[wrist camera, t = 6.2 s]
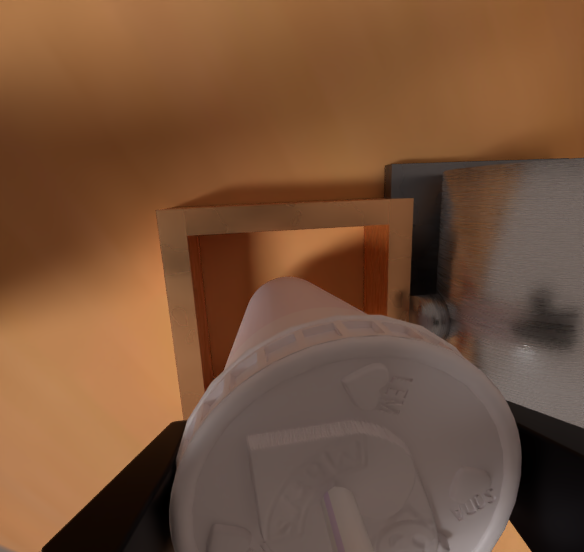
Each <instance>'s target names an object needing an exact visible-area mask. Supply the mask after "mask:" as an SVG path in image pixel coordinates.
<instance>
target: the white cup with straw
mask: <svg viewBox="0 0 584 552" xmlns="http://www.w3.org/2000/svg"><path fill="white" fill-rule="evenodd" d="M521 463H522V455H521V443H520V438H519V432H518V428H517V425H516V422H515V419H514V416H513V414H512V412H511V409H510V407H509V405H508V403H507V402H506V400H505V398H504V397H503V395H502V393H501V392H500V391H499V389H498V388H497V387H496V386H495V384H494V383H493V382H492V381H491V380H490V379H489V378H488V377H487V376H486V375H485V374H484V373H483V372H482V371H481V370H480V369H478V368H477V367H476V366H475V365H473V364H472V363H471V362H469V361H468V360H467V359H465V358H464V357H463V356H462V354H461V353H460V352H459V351H458V350H457V348H456V347H455V346H453V345H451V344H450V343H448V342H447V341H445V340H443V339H442V338H440V337H439V336H437V335H435V334H434V333H432V332H431V331H429V330H427V329H426V328H424V327H423V326H420V325H416V324H413V323H409V322H406V321H402V320H398V319H395V318H391V317H387V316H384V315H368V314H366V313H364V312H363V311H361V310H359V309H357V308H355V307H354V306H352V305H350V304H348V303H346V302H344V301H343V300H341V299H339V298H337V297H335V296H334V295H332V294H330V293H328V292H326V291H325V290H323V289H321V288H319V287H317V286H316V285H314V284H312V283H310V282H308V281H306V280H304V279H301V278H297V277H280V278H276V279H273V280H271V281H269V282H267V283H265V284H264V285H262V286H261V287H260V288H259V289H258V290H257V291H256V292H255V293H254V295H253V296H252V298H251V299H250V301H249V304H248V306H247V309H246V312H245V314H244V317H243V320H242V323H241V325H240V328H239V331H238V333H237V336H236V339H235V341H234V344H233V347H232V349H231V352H230V355H229V357H228V360H227V363H226V366H225V368H224V371H223V372H222V373H221V374H220V375H219V376H217V377H216V378H215V379H214V380H213V381H212V382H211V384H210V385H209V387H208V388H207V390H206V391H205V393H204V395H203V396H202V398H201V399H200V401H199V402H198V404H197V406H196V407H195V409H194V410H193V412H192V413H191V415H190V417H189V418H188V420H187V423H186V426H185V430H184V433H183V437H182V440H181V444H180V447H179V451H178V454H177V457H176V474H175V478H174V482H173V486H172V491H171V497H170V507H169V526H170V533H171V540H172V544H173V547H174V551H175V552H491V551H492V549H493V547H494V546H495V544H496V543H497V541H498V539H499V538H500V536H501V534H502V533H503V531H504V530H505V527H506V525H507V523H508V520H509V518H510V515H511V513H512V510H513V508H514V505H515V503H516V498H517V493H518V488H519V483H520V478H521Z"/></svg>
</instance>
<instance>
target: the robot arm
mask: <svg viewBox="0 0 584 552" xmlns="http://www.w3.org/2000/svg"><path fill="white" fill-rule="evenodd" d="M506 402H507V403H508V405H509V407H510V409H511V412H512V414H513V416H514V419H515V422H516V425H517V428H518V432H519V438H520V443H521V455H522V463H521V478H520V483H519V488H518V493H517V498H516V503H515V505H514V508H513V510H512V513H511V515H510V518H509V520H510V522H511V523H512V525H513V526H514V527H515V529H516V530H517V532H518V533H519V534H520V536H521V537H522V539H523V540H524V541H525V543H526V544H527V546H528V547H529V549H530V550H531V551H532V552H584V428H582V427H579V426H576V425H573V424H571V423H568V422H565V421H562V420H560V419H557V418H554V417H551V416H549V415H546V414H543V413H540V412H538V411H535V410H532V409H529V408H527V407H524V406H521V405H518V404H516V403H513V402H510V401H507V400H506ZM186 423H187V420H183V421H175V422H172V423H170V424H169V425H168V426H167V427H166V428H165V429H164V430H163V431H162V432H161V433H160V434H159V435H158V436H157V437H156V438H155V439H154V440H153V441H152V442H151V443H150V444H149V445H148V446H147V447H146V448H145V449H144V450H143V451H142V452H140V453H139V454H138V455H137V456H136V457H135V458H134V459H133V460H132V461H131V462H130V463H129V464H128V465H127V466H126V467H125V468H124V469H123V470H122V471H121V472H120V473H119V474H118V475H117V476H116V477H115V478H114V479H113V480H112V481H111V482H110V483H109V484H107V485H106V486H105V487H104V488H103V489H102V490H101V491H100V492H99V493H98V494H97V495H96V496H95V497H94V498H93V499H92V500H91V501H90V502H89V503H88V504H87V505H86V506H85V507H84V508H83V509H82V510H81V511H80V512H79V513H78V514H77V515H76V516H74V517H73V518H72V519H71V520H70V521H69V522H68V523H67V524H66V525H65V526H64V527H63V528H62V529H61V530H60V531H59V532H58V533H57V534H56V535H55V536H54V537H53V538H52V539H51V540H50V541H49V542H48V543H47V544H46V545H45V546H44V547H43V548H42V550H41V551H42V552H175V551H174V547H173V544H172V540H171V533H170V526H169V507H170V497H171V491H172V486H173V482H174V478H175V474H176V457H177V454H178V451H179V447H180V444H181V440H182V437H183V433H184V430H185V426H186Z"/></svg>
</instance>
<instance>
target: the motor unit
mask: <svg viewBox="0 0 584 552" xmlns="http://www.w3.org/2000/svg"><path fill="white" fill-rule="evenodd" d="M156 216H157V224H158V231H159V239H160V246H161V254H162V261H163V269H164V276H165V284H166V291H167V299H168V306H169V314H170V321H171V329H172V337H173V344H174V352H175V359H176V367H177V374H178V382H179V389H180V397H181V404H182V412H183V419H184V420H188V418H189V417H190V415H191V413H192V412H193V410H194V409H195V407H196V406H197V404H198V402H199V401H200V399H201V398H202V396H203V395H204V393H205V391H206V390H207V388H208V387H209V385H210V384H211V382H212V381H213V380H214V379H213V369H212V360H211V350H210V341H209V332H208V322H207V313H206V303H205V294H204V284H203V275H202V266H201V256H200V247H199V237H198V235H209V234H227V233H245V232H263V231H281V230H299V229H317V228H335V227H353V226H364V313H366V314H368V315H384V316H387V317H391V318H395V319H398V320H402V321H406V322H409V323H413V324H416V325H420V326H423V327H424V328H426V329H427V330H429V331H431V332H432V333H434V334H435V335H437V336H439V337H440V338H442V339H443V340H445V341H447V342H448V343H450V344H451V345H453V346H455V347H456V348H457V350H458V351H459V352H460V353H461V354H462V356H463V357H464V358H465V359H467V360H468V361H469V362H471V363H472V364H473V365H475V366H476V367H477V368H478V369H480V370H481V371H482V372H483V373H484V374H485V375H486V376H487V377H488V378H489V379H490V380H491V381H492V382H493V383H494V384H495V386H496V387H497V388H498V389H499V391H500V392H501V393H502V395H503V397H504V398H505V400H507V401H510V402H513V403H516V404H518V405H521V406H524V407H527V408H529V409H532V410H535V411H538V412H540V413H543V414H546V415H549V416H551V417H554V418H557V419H560V420H562V421H565V422H568V423H571V424H573V425H576V426H579V427H582V428H584V158H574V159H569V158H561V159H532V160H502V161H472V162H442V163H412V164H390V165H386V166H385V187H384V198H372V199H350V200H329V201H307V202H285V203H263V204H241V205H219V206H198V207H176V208H167V209H160V210H156Z"/></svg>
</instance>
